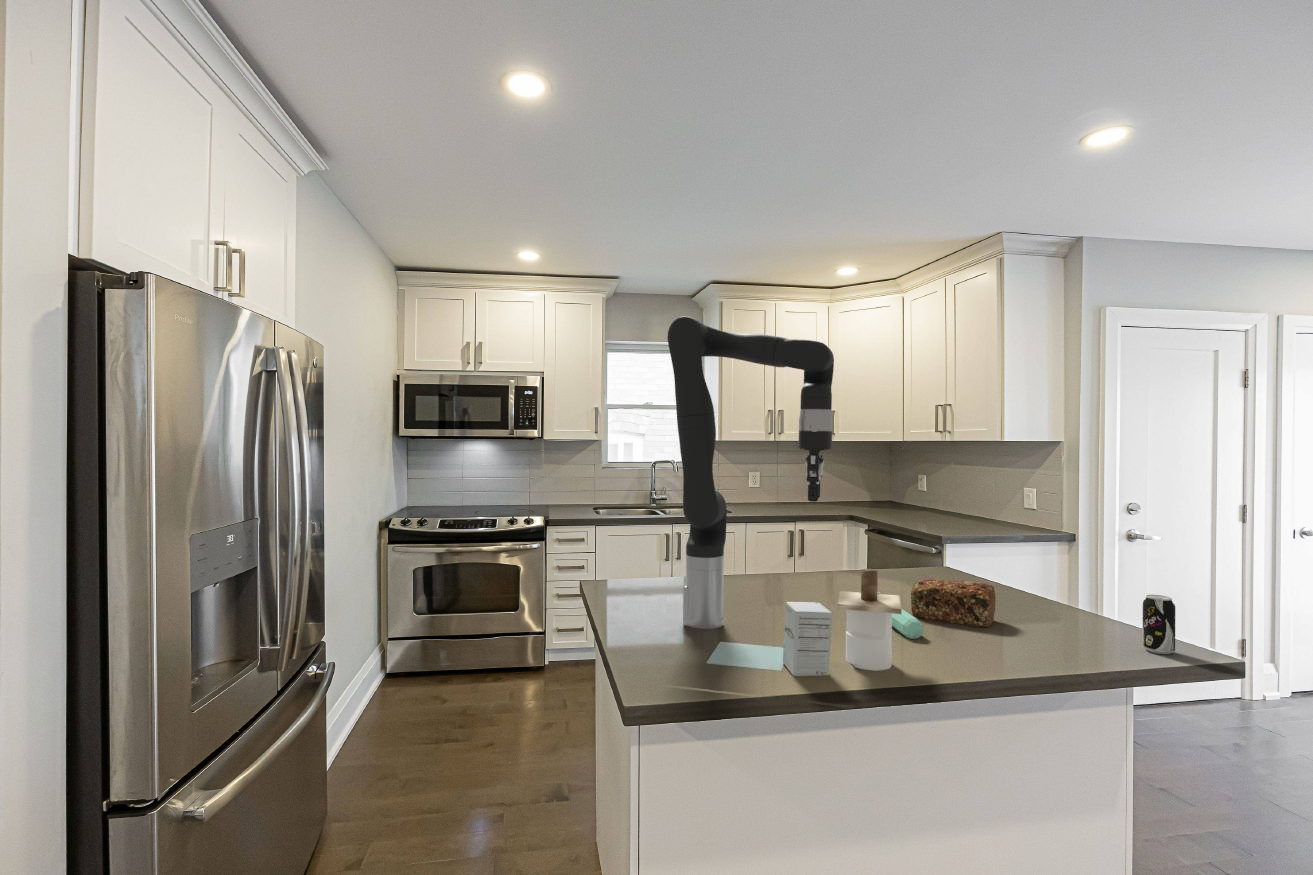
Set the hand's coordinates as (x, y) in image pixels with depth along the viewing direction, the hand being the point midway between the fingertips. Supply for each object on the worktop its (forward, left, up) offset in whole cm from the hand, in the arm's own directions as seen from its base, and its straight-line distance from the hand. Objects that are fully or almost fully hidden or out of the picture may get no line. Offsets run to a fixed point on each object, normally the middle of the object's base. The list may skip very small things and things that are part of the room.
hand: (814, 499), depth 156 cm
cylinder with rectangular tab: (+12, -15, -32) cm, 37 cm away
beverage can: (+73, +12, -32) cm, 81 cm away
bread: (+33, +28, -32) cm, 54 cm away
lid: (+12, -15, -20) cm, 27 cm away
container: (+19, +17, -32) cm, 41 cm away
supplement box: (0, -24, -32) cm, 40 cm away
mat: (-12, -19, -32) cm, 39 cm away
